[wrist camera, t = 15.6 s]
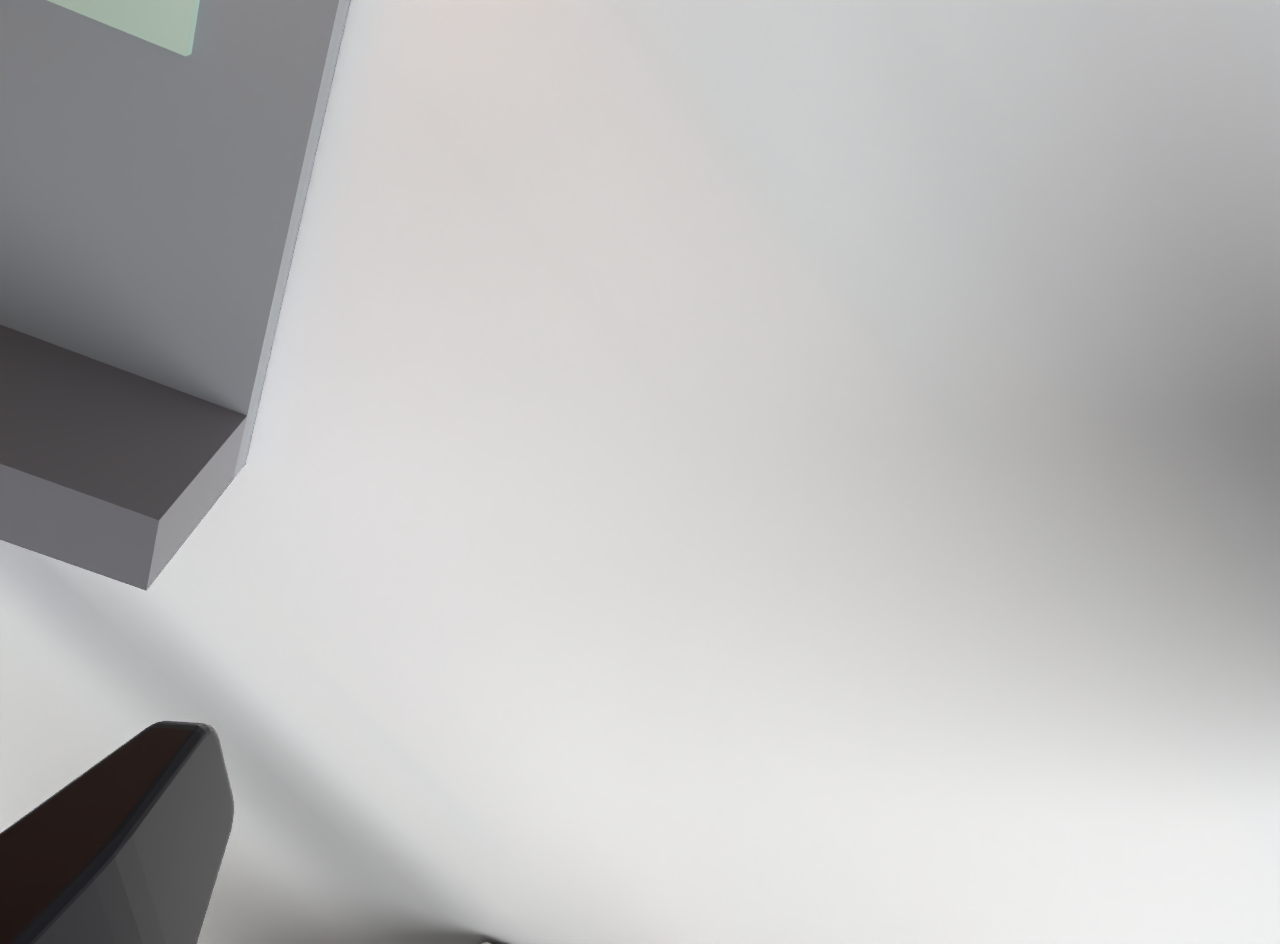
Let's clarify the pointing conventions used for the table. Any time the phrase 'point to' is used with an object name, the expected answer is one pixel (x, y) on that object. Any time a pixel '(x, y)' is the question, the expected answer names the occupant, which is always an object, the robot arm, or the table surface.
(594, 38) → the table surface
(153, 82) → the tray
